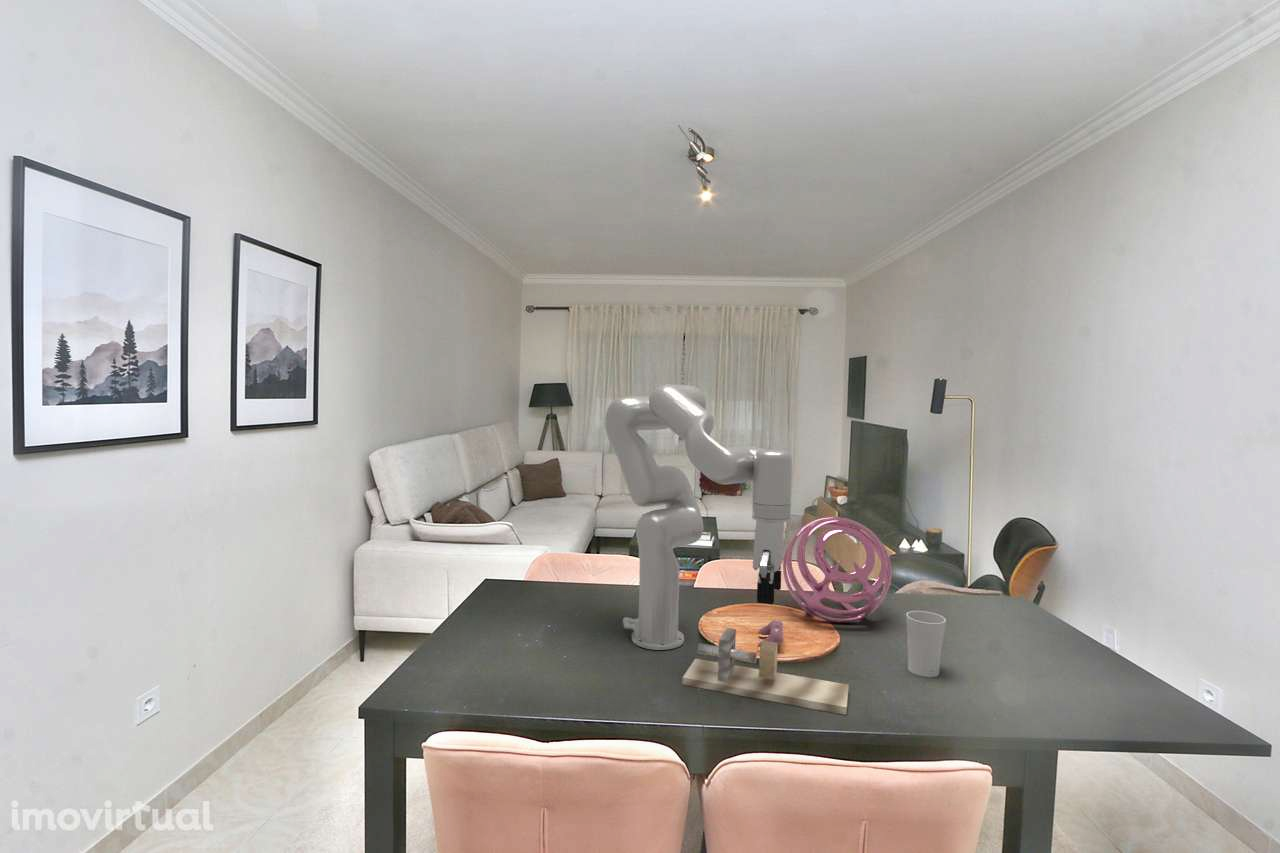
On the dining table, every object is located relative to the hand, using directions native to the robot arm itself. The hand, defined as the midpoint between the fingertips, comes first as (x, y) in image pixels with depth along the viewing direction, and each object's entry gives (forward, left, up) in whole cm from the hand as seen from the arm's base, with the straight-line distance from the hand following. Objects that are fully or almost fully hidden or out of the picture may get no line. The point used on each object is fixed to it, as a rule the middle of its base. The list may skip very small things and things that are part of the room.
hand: (769, 595), depth 129 cm
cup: (+31, +22, -19) cm, 43 cm away
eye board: (0, 0, -19) cm, 19 cm away
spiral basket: (+10, +49, -19) cm, 54 cm away
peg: (-6, 0, -16) cm, 17 cm away
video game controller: (-3, +23, -20) cm, 30 cm away
